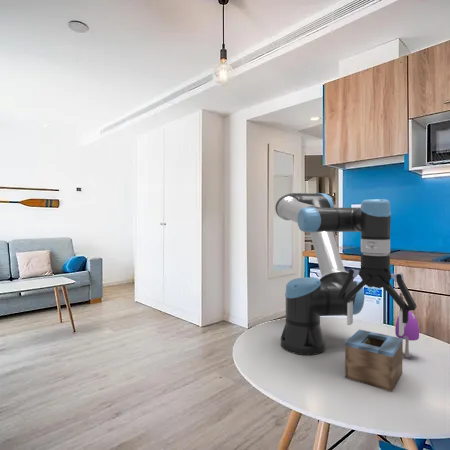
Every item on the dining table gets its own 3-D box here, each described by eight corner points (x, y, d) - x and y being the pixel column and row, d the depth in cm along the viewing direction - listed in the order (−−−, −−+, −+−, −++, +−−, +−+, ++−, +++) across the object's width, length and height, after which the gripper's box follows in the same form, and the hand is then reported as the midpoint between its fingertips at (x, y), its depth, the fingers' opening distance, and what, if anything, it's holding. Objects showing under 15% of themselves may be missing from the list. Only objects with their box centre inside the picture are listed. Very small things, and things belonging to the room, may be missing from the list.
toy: (422, 362, 100) (423, 314, 99) (399, 360, 101) (399, 312, 101) (414, 353, 106) (414, 308, 106) (392, 351, 108) (392, 307, 107)
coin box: (345, 377, 90) (345, 342, 90) (359, 361, 100) (359, 329, 100) (392, 391, 83) (392, 353, 83) (402, 372, 93) (402, 338, 93)
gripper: (326, 252, 96) (326, 323, 96) (424, 259, 80) (423, 343, 81) (335, 250, 102) (335, 317, 102) (428, 256, 86) (427, 335, 86)
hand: (374, 329), depth 91 cm, fingers open, 13 cm apart
